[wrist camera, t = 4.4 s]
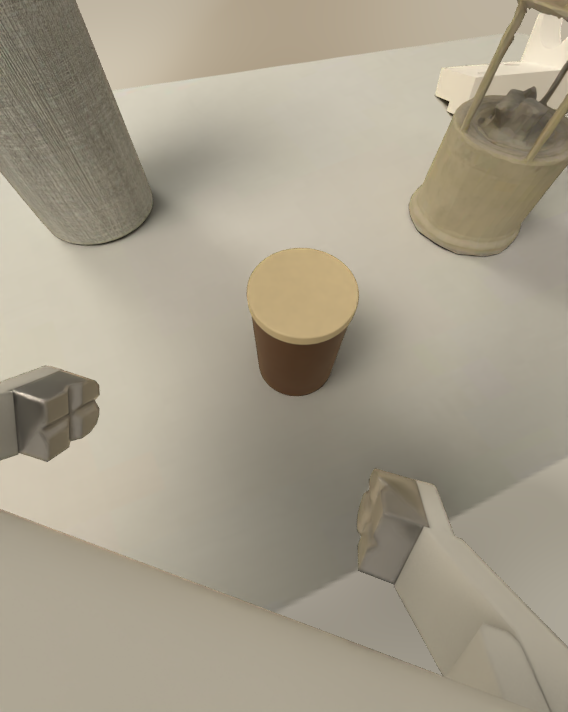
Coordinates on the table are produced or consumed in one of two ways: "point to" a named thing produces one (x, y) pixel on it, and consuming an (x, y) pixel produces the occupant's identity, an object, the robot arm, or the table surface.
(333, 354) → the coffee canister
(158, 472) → the table surface
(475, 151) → the lamp
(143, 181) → the vase
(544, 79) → the bracket
